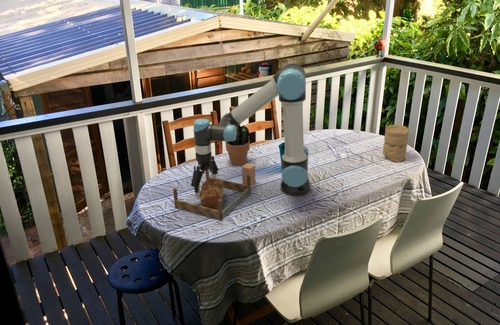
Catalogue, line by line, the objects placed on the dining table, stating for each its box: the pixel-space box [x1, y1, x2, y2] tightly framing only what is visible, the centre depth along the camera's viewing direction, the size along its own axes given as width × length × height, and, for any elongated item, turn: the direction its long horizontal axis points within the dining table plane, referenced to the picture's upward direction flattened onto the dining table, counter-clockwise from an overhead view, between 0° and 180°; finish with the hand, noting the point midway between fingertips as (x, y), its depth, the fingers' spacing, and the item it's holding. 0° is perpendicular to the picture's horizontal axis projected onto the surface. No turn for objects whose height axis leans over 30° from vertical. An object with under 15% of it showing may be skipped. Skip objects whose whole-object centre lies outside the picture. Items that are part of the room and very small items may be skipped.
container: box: [382, 124, 410, 163], centre depth 255 cm, size 13×13×18 cm
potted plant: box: [224, 124, 250, 167], centre depth 253 cm, size 14×14×25 cm
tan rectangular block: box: [241, 163, 256, 187], centre depth 233 cm, size 5×5×10 cm
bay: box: [172, 169, 252, 221], centre depth 217 cm, size 26×28×10 cm
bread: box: [199, 178, 225, 210], centre depth 215 cm, size 19×11×10 cm, turn 1°
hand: (206, 191), depth 220 cm, fingers open, 13 cm apart
